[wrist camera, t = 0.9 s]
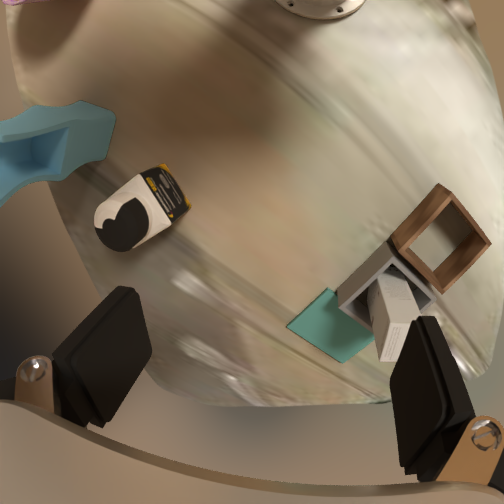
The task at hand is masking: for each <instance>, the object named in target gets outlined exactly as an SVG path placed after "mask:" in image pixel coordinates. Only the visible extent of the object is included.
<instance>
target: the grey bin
mask: <svg viewBox="0 0 504 504" xmlns="http://www.w3.org/2000/svg"><path fill="white" fill-rule="evenodd" d="M392 263H393V264H394V265H395V266H396V267H397V268H399V269H400V270H401V271H402V272H403V273H404V274H405V275H406V276H407V277H408V278H409V279H410V280H411V281H412V282H414V283H415V284H416V285H417V286H418V287H417V288H416V289H415V290H414V291H413V292H412V294H413V297H414V299H415V301H416V304H417V306H418V308H419V311H420V313H422V312H424V311H425V310H426V309H427V308H428V307H429V306H430V305H431V304H433V303H434V302H435V301H436V300H437V298H436V296H435V294H434V292H433V290H432V288H431V286H430V284H429V282H428V281H427V280H426V279H425V278H424V277H423V276H422V275H421V274H420V273H419V272H418V271H417V270H416V269H415V268H414V267H413V266H412V265H411V264H410V263H409V262H408V261H406V260H405V259H404V258H403V257H402V256H401V255H400V254H399V253H398V252H397V251H396V250H395V249H394V248H393V247H392V246H390V245H389V244H388V243H387V242H386V241H385V242H384V243H383V244H382V245H381V246H380V247H379V248H378V249H377V250H376V251H375V252H374V253H373V254H372V255H371V256H370V257H369V258H368V259H367V260H366V261H365V262H364V263H363V264H362V265H361V266H360V267H359V268H358V269H357V270H356V271H355V272H354V273H353V274H352V275H351V276H350V277H349V278H348V279H347V280H346V281H345V282H344V283H343V284H342V285H341V286H340V287H339V288H338V289H337V294H338V308H339V309H341V310H342V311H343V312H345V313H346V314H347V315H349V316H350V317H351V318H353V319H354V320H355V321H357V322H358V323H359V324H361V325H362V326H364V327H365V328H366V329H368V330H369V331H370V332H372V333H373V328H372V323H371V319H370V314H369V310H368V308H367V307H366V306H365V305H364V304H362V303H361V302H360V301H358V300H357V299H356V297H357V296H358V295H359V294H360V293H361V292H363V291H364V290H365V289H366V288H367V287H368V286H369V285H370V284H371V283H372V282H373V281H374V280H375V279H376V278H377V277H378V276H379V275H381V274H382V273H383V272H384V271H385V270H386V269H387V268H388V267H389V266H390V265H391V264H392ZM373 334H374V333H373Z"/></svg>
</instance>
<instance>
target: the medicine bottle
mask: <svg viewBox="0 0 504 504" xmlns="http://www.w3.org/2000/svg"><path fill="white" fill-rule="evenodd" d="M190 208H191V204H190V202H189V201H188V199H187V197H186V196H185V194H184V193H183V191H182V189H181V188H180V186H179V185H178V183H177V182H176V180H175V178H174V177H173V175H172V174H171V172H170V170H169V169H168V167H167V166H166V164H164V163H163V164H160V165H158V166H156V167H153V168H151V169H149V170H146V171H144V172H142V173H140V174H137V175H136V176H135V177H134V178H132V179H131V180H130V181H129V182H127V183H126V184H125V185H124V186H122V187H121V188H120V189H119V190H118V191H116V192H115V193H114V194H113V195H112V196H110V197H109V198H108V199H107V200H106V201H104V202H103V203H101V204H100V205H99V206H98V208H97V209H96V212H95V216H94V226H95V230H96V233H97V235H98V237H99V239H100V240H101V241H102V242H103V244H105V245H106V246H107V247H108V248H110V249H112V250H115V251H118V252H125V251H128V250H130V249H131V248H135V247H137V246H138V245H140V244H142V243H143V242H145V241H146V240H148V239H150V238H151V237H153V236H154V235H156V234H158V233H159V232H161V231H162V230H164V229H166V228H167V227H169V226H170V225H171V224H173V223H174V222H175V221H176V220H177V219H178V218H180V217H181V216H182V215H183V214H184V213H185V212H187V211H188V210H189V209H190Z"/></svg>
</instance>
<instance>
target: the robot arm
mask: <svg viewBox="0 0 504 504" xmlns="http://www.w3.org/2000/svg"><path fill="white" fill-rule="evenodd" d="M275 1H276V2H277V3H278V4H279V5H280V6H282V7H283V8H285V9H286V10H288V11H290V12H292V13H294V14H297V15H299V16H303V17H306V18H311V19H319V20H326V19H336V18H341V17H344V16H347V15H349V14H351V13H353V12H355V11H356V10H357V9H359V8H360V7H361V6H362V5H363V4H364V2H365V1H366V0H275ZM290 4H292V5H294V6H292V7H290V6H289V5H290ZM337 10H340V11H341V13H339V12H337ZM151 354H152V347H151V343H150V339H149V335H148V331H147V327H146V323H145V319H144V315H143V310H142V306H141V301H140V297H139V294H138V293H137V292H136V291H135V289H134V288H131V287H125V286H118V287H116V288H115V289H114V290H113V291H112V292H111V293H110V294H109V295H108V296H107V297H106V298H105V299H104V300H103V301H102V302H101V303H100V304H99V305H98V306H97V307H96V308H95V309H94V310H93V311H92V312H91V313H90V314H89V315H88V316H87V317H86V318H85V319H84V320H83V321H82V322H81V323H80V324H79V325H78V327H77V328H76V329H75V330H74V331H73V332H72V333H71V334H70V335H69V336H68V337H67V338H66V339H65V340H64V341H63V343H61V345H60V346H59V347H58V348H57V349H56V350H55V351H54V352H53V353H52V356H53V358H54V360H53V361H52V362H51V361H50V360H49V359H48V358H47V357H45V356H34V357H30V358H28V359H27V360H25V361H24V362H23V363H22V364H21V365H20V366H19V368H18V370H17V373H16V377H13V378H10V379H6V380H2V381H0V504H504V428H503V426H502V425H501V424H500V422H499V421H497V420H496V419H494V418H492V417H490V416H478V417H476V416H475V413H474V409H473V406H472V403H471V400H470V398H469V395H468V392H467V389H466V387H465V384H464V381H463V378H462V376H461V373H460V370H459V368H458V365H457V363H456V360H455V359H454V357H453V356H452V354H451V351H450V349H449V346H448V344H447V342H446V339H445V337H444V335H443V333H442V330H441V328H440V326H439V324H438V322H437V319H436V318H435V317H434V316H418V317H417V319H416V320H412V322H411V324H410V327H409V330H408V333H407V336H406V339H405V341H404V344H403V347H402V349H401V352H400V355H399V357H398V360H397V362H396V365H395V367H394V370H393V372H392V375H391V378H390V391H391V397H392V403H393V410H394V418H395V425H396V434H397V442H398V451H399V462H400V466H401V467H404V469H405V475H410V474H417V480H419V481H418V483H405V484H391V485H363V486H362V485H358V486H340V485H339V486H338V485H336V486H335V485H312V484H299V483H288V482H279V481H271V480H262V479H256V478H250V477H243V476H238V475H232V474H227V473H222V472H217V471H213V470H208V469H203V468H200V467H196V466H191V465H188V464H184V463H180V462H177V461H173V460H170V459H166V458H163V457H160V456H157V455H153V454H150V453H147V452H144V451H141V450H138V449H135V448H133V447H130V446H127V445H125V444H122V443H119V442H117V441H114V440H112V439H109V438H106V437H104V436H102V435H100V434H97V433H95V432H93V431H90V430H88V429H87V424H88V423H89V421H90V423H91V424H94V425H96V426H98V427H101V428H103V427H104V425H105V424H106V422H109V421H111V420H112V418H113V416H114V415H115V413H116V412H117V410H118V408H119V407H120V405H121V403H122V402H123V400H124V398H125V397H126V395H127V394H128V392H129V391H130V389H131V387H132V386H133V384H134V383H135V381H136V379H137V378H138V376H139V375H140V373H141V371H142V370H143V368H144V367H145V365H146V364H147V362H148V360H149V359H150V357H151Z"/></svg>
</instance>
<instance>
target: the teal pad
mask: <svg viewBox="0 0 504 504" xmlns="http://www.w3.org/2000/svg"><path fill="white" fill-rule="evenodd" d="M287 328H289V329H290V330H292V331H293V332H295V333H296V334H298V335H299V336H301V337H302V338H304V339H305V340H307V341H309V342H310V343H312V344H313V345H315V346H316V347H318V348H319V349H321V350H322V351H324V352H325V353H327V354H328V355H330V356H331V357H333V358H335V359H336V360H338V361H339V362H341V363H342V364H343V363H344V362H346V361H347V360H348V359H350V358H351V357H352V356H354V355H355V354H356V353H358V352H359V351H360V350H362V349H363V348H364V347H366V346H367V345H368V344H369V343H371V342H372V341H373V340H374V339H375V338H374V334H373V333H372V332H370V331H369V330H368V329H366V328H365V327H364V326H362V325H361V324H359V323H358V322H357V321H355V320H354V319H353V318H351V317H350V316H349V315H347V314H346V313H345V312H343V311H342V310H341V309H339V308H338V295H337V294H336V293H334V292H333V291H332V290H330V289H329V288H328V287H327V288H326V289H325V290H324V291H323V292H322V293H321V294H320V295H319V296H318V297H317V298H316V299H315V300H314V301H313V302H312V303H311V304H309V305H308V306H307V307H306V308H305V309H304V310H303V311H302V312H301V313H300V314H299V315H298V316H296V317H295V318H294V319H293V320H292V321H291V322H290V323H289V324H288V325H287Z"/></svg>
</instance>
